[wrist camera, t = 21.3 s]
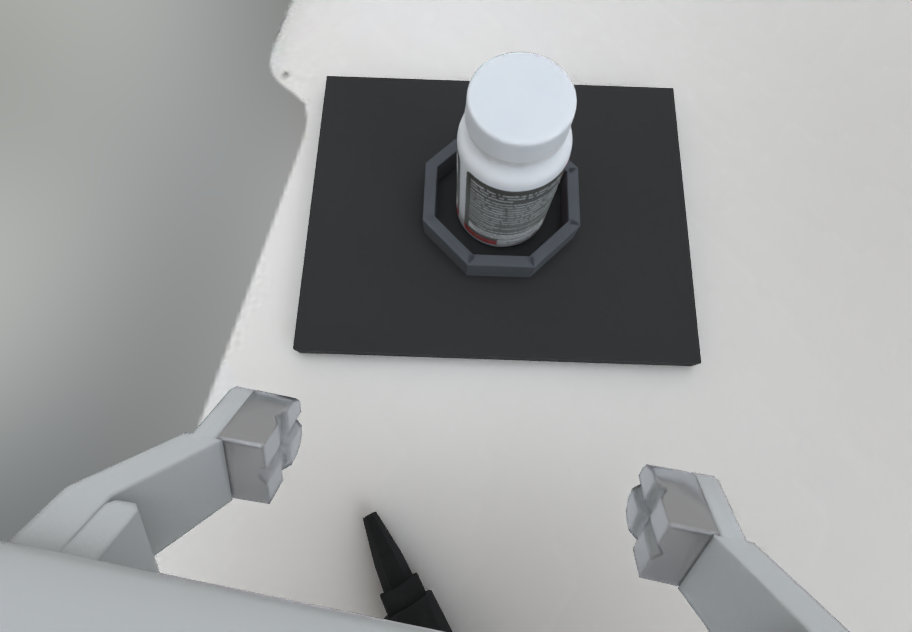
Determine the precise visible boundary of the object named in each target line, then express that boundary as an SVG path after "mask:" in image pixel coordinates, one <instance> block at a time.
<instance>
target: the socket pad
mask: <svg viewBox="0 0 912 632" xmlns="http://www.w3.org/2000/svg"><path fill="white" fill-rule="evenodd" d="M469 83H470V81H452V80H423V79H395V78H367V77H339V76H327V81H326V89H325V97H324V105H323V113H322V121H321V129H320V137H319V145H318V153H317V161H316V169H315V177H314V185H313V193H312V201H311V209H310V217H309V225H308V233H307V241H306V249H305V257H304V266H303V274H302V282H301V290H300V298H299V306H298V314H297V322H296V330H295V338H294V346H293V349H294V350H296V351H298V352H300V353H327V354H356V355H385V356H414V357H442V358H471V359H500V360H529V361H558V362H587V363H616V364H645V365H674V366H693V365H696V364H699V363H701V357H700V348H699V338H698V328H697V318H696V308H695V299H694V289H693V279H692V269H691V259H690V250H689V240H688V230H687V220H686V210H685V200H684V191H683V181H682V171H681V161H680V151H679V142H678V132H677V122H676V112H675V102H674V92H673V88H649V87H621V86H592V85H574V88H575V91H576V98H577V105H576V111H575V115H574V118H573V121H572V124H571V130H572V137H573V139H572V149H571V153H570V157H569V160H568V163H567V165H566V168H565V170H564V172H563V175H562V177H561V179H560V182H559V184H558V187H557V189H556V192H555V194H554V197H553V199H552V201H551V204H550V207H549V209H548V212H547V214H546V217H545V219H544V221H543V223H542V225H541V227H540V228H539V230H538V231H537V232H536V233H535V234H534V235H533V236H532V237H531V238H530V239H528V240H527V241H525V242H523V243H521V244H518V245H514V246H509V247H494V246H489V245H486V244H483V243H481V242H479V241H478V240H476V239H475V238H473V237H472V236H471V235H470V234H469V233H468V232H467V231H466V230H465V229H464V227H463V226H462V224H461V222H460V220H459V217H458V213H457V208H456V196H457V134H458V128H459V124H460V121H461V119H462V117H463V115H464V113H465V107H466V97H467V90H468V86H469Z"/></svg>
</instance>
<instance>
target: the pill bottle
mask: <svg viewBox="0 0 912 632" xmlns="http://www.w3.org/2000/svg"><path fill="white" fill-rule="evenodd" d="M576 105H577V98H576V91H575V88H574V85H573V83H572V81H571V79H570V77H569V76H568V75H567V73H566V72H565V71H564V70H563V69H562V68H561V67H560V66H559V65H558V64H556V63H555V62H553V61H551V60H550V59H548V58H545V57H543V56H540V55H538V54H534V53H528V52H511V53H506V54H502V55H499V56H496V57H494V58H492V59H490V60H488V61H487V62H485V63H484V64H483V65H482V66H481V67H480V68H479V69H478V70H477V71H476V72H475V74H474V75H473V77H472V78H471V80H470V83H469V86H468V90H467V97H466V107H465V113H464V115H463V117H462V119H461V121H460V124H459V128H458V134H457V196H456V208H457V213H458V217H459V220H460V222H461V224H462V226H463V227H464V229H465V230H466V231H467V232H468V233H469V234H470V235H471V236H472V237H473V238H475V239H476V240H478V241H479V242H481V243H483V244H486V245H489V246H494V247H509V246H514V245H518V244H521V243H523V242H525V241H527V240H528V239H530V238H531V237H532V236H533V235H534V234H535V233H536V232H537V231H538V230H539V228H540V227H541V225H542V223H543V221H544V219H545V217H546V214H547V212H548V209H549V207H550V204H551V201H552V199H553V197H554V194H555V192H556V189H557V187H558V184H559V182H560V179H561V177H562V175H563V172H564V170H565V168H566V165H567V163H568V160H569V157H570V153H571V149H572V139H573V137H572V130H571V124H572V121H573V118H574V115H575V111H576Z"/></svg>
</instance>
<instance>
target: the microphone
mask: <svg viewBox="0 0 912 632" xmlns="http://www.w3.org/2000/svg"><path fill="white" fill-rule="evenodd" d="M363 521H364V525H365V529H366V533H367V537H368V541H369V545H370V549H371V553H372V557H373V561H374V565H375V568H376V571H377V574H378V577H379V580H380V582H381V585H382V588H383V591H384V592H383V593H382V594H380V597H381V599H382V602H383V604H384V607H385V609H386V612H387V614H388V616H386V617H385V618H384V619H385V620H390V621H395V622H400V623H405V624H409V625H414V626H419V627H424V628H429V629H434V630H439V631H444V632H452V630H451V628H450V626H449V624H448V622H447V620H446V618H445V616H444V614H443V612H442V610H441V609H440V607H439V605H438V603H437V601H436V599H435V597H434V595H433V593H432V591H431V590H428V591H426V592H425V590H424V588H423V585H422V583H421V581H420V579H419V576H418V574H417V573H415V574H412V572H411V570H410V569H409V567H408V565H407V563H406V561H405V559H404V557H403V555H402V553H401V551H400V549H399V548H398V546H397V544H396V543H395V541H394V540H393V538H392V536H391V535H390V533H389V532H388V530H387V528H386V527H385V525H384V524H383V522H382V521H381V519H380V517H379V516H378V514H377V513H376V512H373V513H371V514H370V515H368V516H366V517H364V518H363Z"/></svg>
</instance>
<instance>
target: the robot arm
mask: <svg viewBox="0 0 912 632" xmlns="http://www.w3.org/2000/svg"><path fill="white" fill-rule="evenodd" d="M300 412H301V407H300V401H299V400H298V399H296V398H291V397H287V396H282V395H277V394H273V393H268V392H263V391H259V390H257V391H256V390H252V389H247V388H243V387H238V386H236V387H234V388H232V389H231V390H229V392H228V393H227V394H226V395H225V396H224V397H223V399H222V400H221V401H220V402H219V403H218V404H217V406H216V407H215V408H214V409H213V410H212V411H211V412H210V414H209V415H208V416H207V417H206V418H205V419H204V421H203V422H202V423H201V424H200V425H199V426H198V428H197V429H196V430H195V431H194V432H193V433H192V434H190V433H184V434H182V435H180V436H178V437H175V438H173V439H171V440H169V441H166V442H164V443H162V444H160V445H158V446H156V447H153V448H151V449H149V450H147V451H144V452H142V453H140V454H138V455H136V456H133V457H131V458H129V459H127V460H125V461H122V462H120V463H118V464H116V465H113V466H111V467H109V468H107V469H105V470H102V471H101V472H98V473H96V474H94V475H91V476H89V477H87V478H85V479H82V480H80V481H78V482H76V483H74V484H71V485H69V486H67V487H65V488H64V489H63V490H62V491H61V492H60V493H59V494H58V495H57V496H56V497H55V498H54V499H53V500H52V501H50V502H49V503H48V504H47V505H46V506H45V507H44V508H43V509H42V510H41V511H40V512H39V513H38V514H37V515H36V516H35V517H34V518H33V519H32V520H31V521H30V522H28V524H26V525H25V526H24V527H23V528H22V529H21V530H20V531H19V532H18V533H17V534H16V535H15V536H14V537H13V538H12V539H11V540H10V541H9V542H8V541H2V540H0V632H444V631H439V630H434V629H429V628H424V627H419V626H414V625H409V624H405V623H400V622H395V621H390V620H385V619H380V618H375V617H371V616H366V615H361V614H356V613H351V612H346V611H341V610H337V609H332V608H327V607H322V606H317V605H312V604H307V603H303V602H298V601H293V600H288V599H283V598H278V597H274V596H269V595H264V594H259V593H254V592H249V591H244V590H240V589H235V588H230V587H225V586H220V585H215V584H211V583H206V582H201V581H196V580H191V579H186V578H181V577H177V576H172V575H167V574H162V573H160V571H159V568H158V565H157V563H156V560H155V557H154V556H155V555H156V554H157V553H159V552H160V551H162V550H163V549H164V548H166V547H167V546H169V545H170V544H171V543H173V542H174V541H176V540H177V539H178V538H180V537H181V536H183V535H184V534H185V533H187V532H188V531H190V530H191V529H192V528H194V527H195V526H197V525H198V524H199V523H201V522H202V521H204V520H205V519H206V518H208V517H209V516H211V515H212V514H213V513H215V512H216V511H218V510H219V509H220V508H222V507H223V506H225V505H226V504H227V503H229V502H230V501H232V498H237V499H243V500H249V501H255V502H261V503H267V504H270V502H271V500H272V499H273V497H274V495H275V493H276V491H277V490H278V488H279V486H280V484H281V483H282V481H283V474H282V470H283V469H285V468H287V467H288V466H290V465H292V463H293V461H294V459H295V457H296V455H297V452H298V449H299V446H300V443H301V436H302V425H301V424H300V423H299V422H298V420H297V417H298V416H299V414H300ZM639 479H640V483H641V484H640V485H638V486H636V487H634V488H633V489H632V490H631V493H630V495H629V497H628V501H627V508H626V516H627V524H628V529H629V531H630V532H631V533H632V535H633V536H634V537H635V538H636V539H637V542H636V544H635V546H634V547H633V551H634V556H635V560H636V564H637V569H638V573H639V577H640V578H645V579H649V580H654V581H658V582H662V583H667V584H671V585H676V586H679V587H678V589H679V590H680V591H681V593H682V594H683V596H684V597H685V598H686V600H687V601H688V602H689V604H690V605H691V607H692V608H693V609H694V611H695V612H696V614H697V615H698V616H699V618H700V619H701V621H702V622H703V623H704V625H705V626H706V627H707V629H708V630H709V632H850V631H848V630H847V629H846V628H845V627H844V626H843V625H842V624H841V623H840V622H839V621H838V620H837V619H836V618H834V617H833V616H832V615H831V614H830V613H829V612H828V611H827V610H826V609H825V608H824V607H823V606H822V605H820V604H819V603H818V602H817V601H816V600H815V599H814V598H813V597H812V596H811V595H810V594H809V593H808V592H806V591H805V590H804V589H803V588H802V587H801V586H800V585H799V584H798V583H797V582H796V581H795V580H793V579H792V578H791V577H790V576H789V575H788V574H787V573H786V572H785V571H784V570H783V569H782V568H781V567H779V566H778V565H777V564H776V563H775V562H774V561H773V560H772V559H771V558H770V557H769V556H768V555H767V554H765V553H764V552H763V551H762V550H761V549H760V548H759V547H758V546H757V545H756V544H755V543H752V542H748V541H747V540H746V538H745V536H744V534H743V532H742V530H741V528H740V525H739V523H738V521H737V519H736V517H735V515H734V512H733V510H732V508H731V506H730V504H729V502H728V500H727V497H726V495H725V493H724V491H723V489H722V487H721V484H720V482H719V480H718V479H716V478H715V477H714V476H709V475H704V474H698V473H692V472H691V473H690V472H686V471H681V470H675V469H669V468H664V467H658V466H653V465H646V466H644V467H643V468H642V470H641V472H640V474H639Z"/></svg>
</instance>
